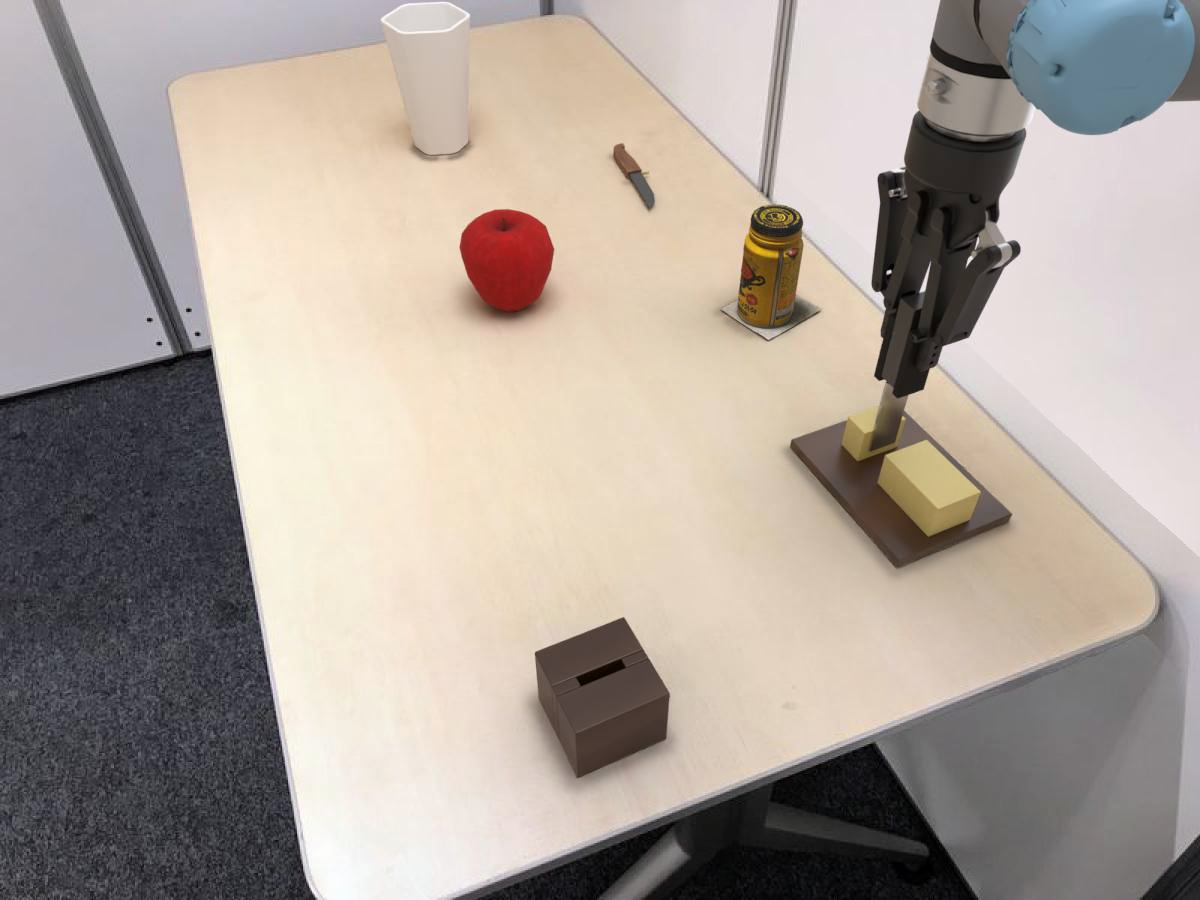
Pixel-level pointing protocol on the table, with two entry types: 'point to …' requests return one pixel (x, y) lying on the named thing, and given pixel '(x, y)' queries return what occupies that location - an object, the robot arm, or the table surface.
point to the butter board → (875, 506)
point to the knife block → (602, 696)
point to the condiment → (771, 273)
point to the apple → (507, 258)
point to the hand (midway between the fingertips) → (898, 382)
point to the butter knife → (895, 373)
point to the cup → (432, 72)
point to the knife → (633, 173)
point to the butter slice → (864, 434)
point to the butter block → (928, 487)
